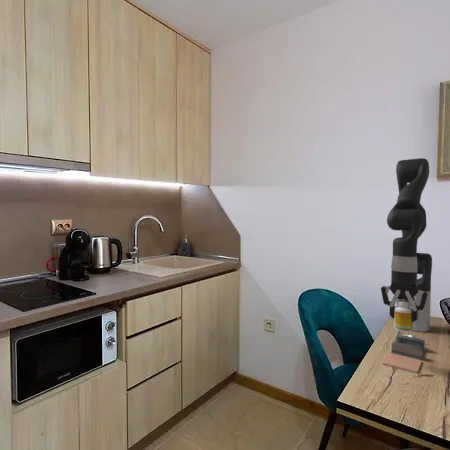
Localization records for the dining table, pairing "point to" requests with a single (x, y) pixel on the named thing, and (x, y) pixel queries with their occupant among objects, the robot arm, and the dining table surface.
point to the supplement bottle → (403, 316)
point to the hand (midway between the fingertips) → (403, 319)
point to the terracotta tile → (402, 362)
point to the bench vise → (409, 346)
